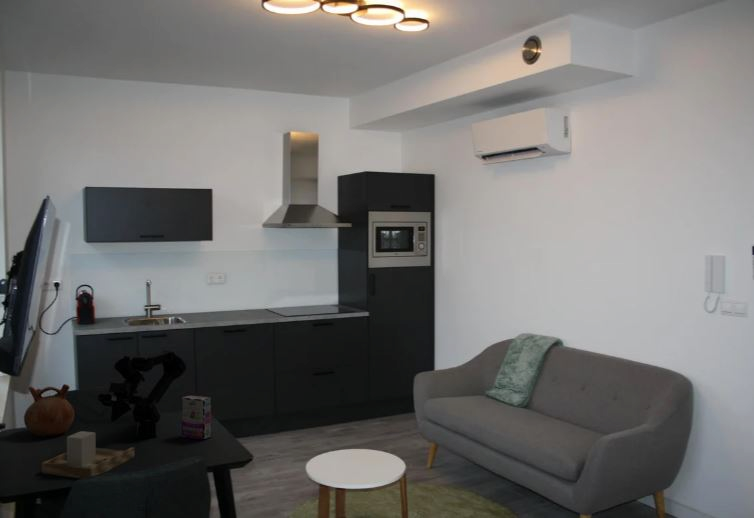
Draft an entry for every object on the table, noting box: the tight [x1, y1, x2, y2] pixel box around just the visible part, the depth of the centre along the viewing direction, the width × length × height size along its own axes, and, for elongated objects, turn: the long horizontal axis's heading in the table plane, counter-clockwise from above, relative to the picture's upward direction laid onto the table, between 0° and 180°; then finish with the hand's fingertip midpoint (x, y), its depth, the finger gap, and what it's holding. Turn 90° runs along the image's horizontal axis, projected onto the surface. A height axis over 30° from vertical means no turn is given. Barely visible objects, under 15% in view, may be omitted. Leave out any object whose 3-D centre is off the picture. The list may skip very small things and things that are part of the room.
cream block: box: [66, 430, 97, 467], centre depth 229 cm, size 7×6×10 cm
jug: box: [23, 384, 75, 438], centre depth 269 cm, size 18×18×20 cm
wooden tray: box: [41, 446, 136, 479], centre depth 233 cm, size 24×20×4 cm
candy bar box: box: [181, 394, 212, 440], centre depth 265 cm, size 11×5×16 cm, turn 68°
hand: (112, 421), depth 245 cm, fingers closed
